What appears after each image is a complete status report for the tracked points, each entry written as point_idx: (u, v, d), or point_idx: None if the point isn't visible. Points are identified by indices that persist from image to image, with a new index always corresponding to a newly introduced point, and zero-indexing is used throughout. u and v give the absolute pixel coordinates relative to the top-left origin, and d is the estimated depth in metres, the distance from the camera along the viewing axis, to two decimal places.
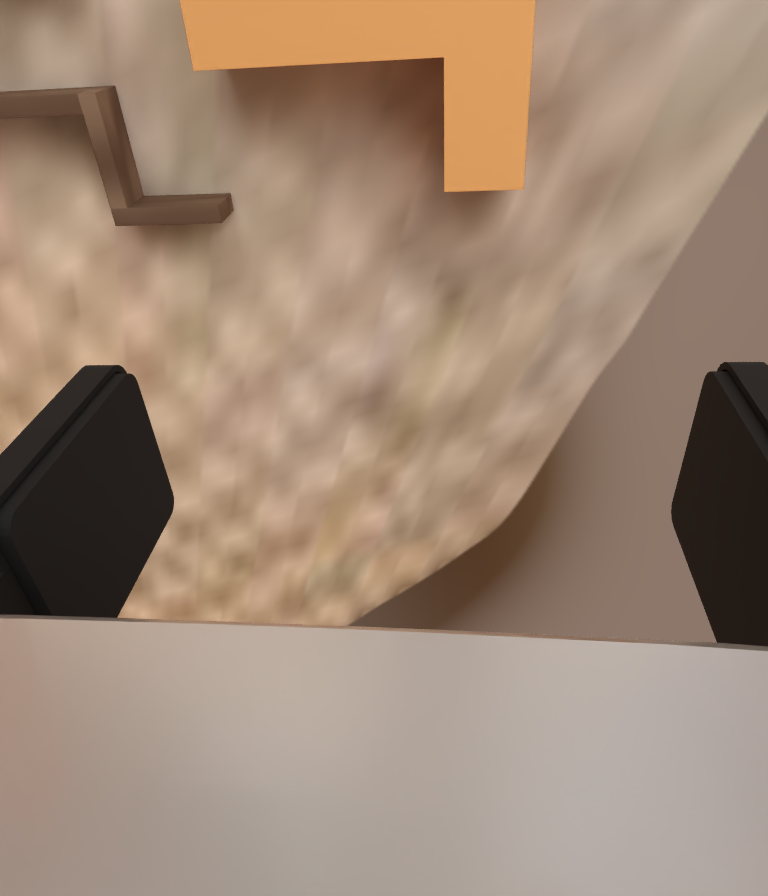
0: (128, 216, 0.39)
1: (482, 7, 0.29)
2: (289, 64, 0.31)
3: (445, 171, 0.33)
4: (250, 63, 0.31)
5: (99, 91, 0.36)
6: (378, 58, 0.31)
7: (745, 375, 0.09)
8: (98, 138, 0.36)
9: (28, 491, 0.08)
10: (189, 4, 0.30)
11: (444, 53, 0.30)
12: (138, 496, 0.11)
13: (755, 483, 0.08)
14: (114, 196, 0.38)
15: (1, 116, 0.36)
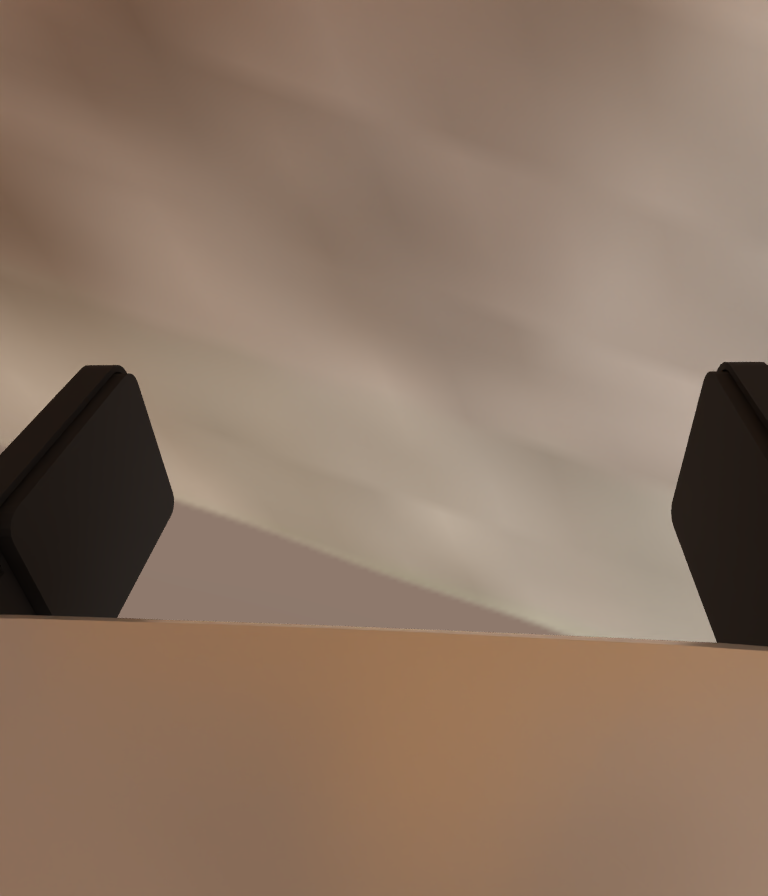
0: None
1: None
2: None
3: None
4: None
5: None
6: None
7: (745, 375, 0.09)
8: None
9: (28, 491, 0.08)
10: None
11: None
12: (138, 496, 0.11)
13: (755, 483, 0.08)
14: None
15: None
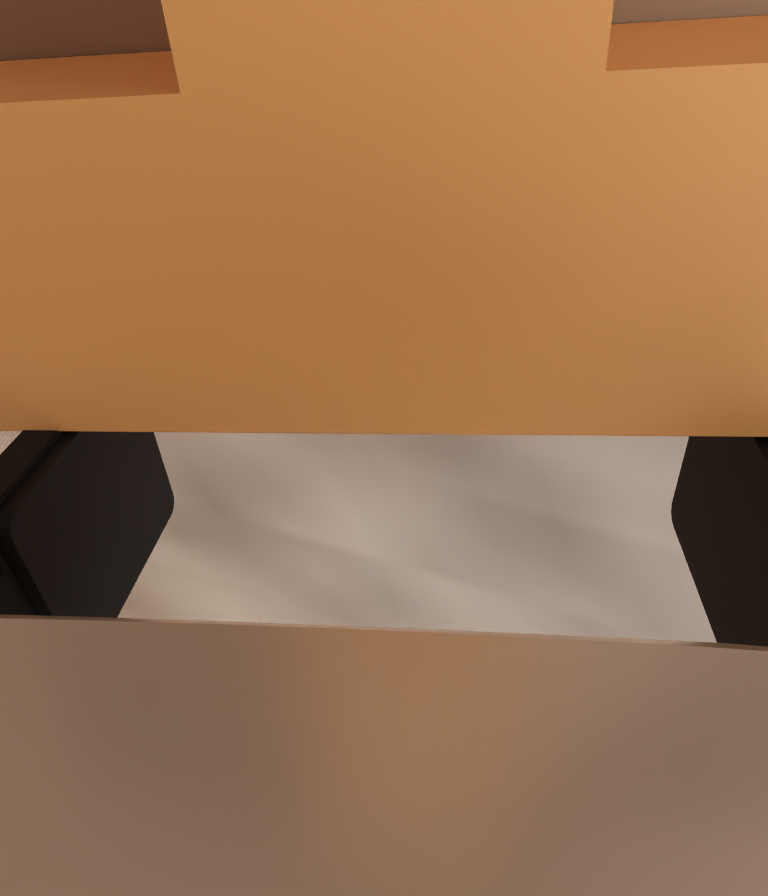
0: None
1: (377, 258, 0.07)
2: None
3: None
4: None
5: None
6: None
7: None
8: None
9: (28, 491, 0.08)
10: None
11: (195, 96, 0.06)
12: (138, 496, 0.11)
13: (755, 483, 0.08)
14: None
15: None
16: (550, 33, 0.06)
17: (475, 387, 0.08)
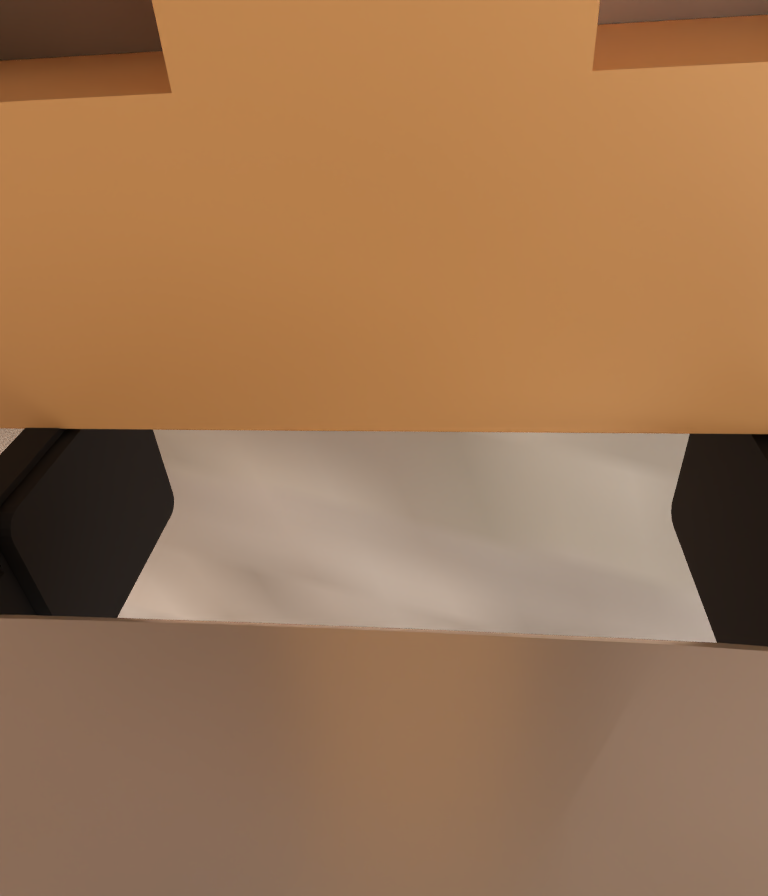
0: None
1: (368, 257, 0.07)
2: None
3: None
4: None
5: None
6: None
7: None
8: None
9: (28, 491, 0.08)
10: None
11: (186, 95, 0.06)
12: (138, 496, 0.11)
13: (755, 483, 0.08)
14: None
15: None
16: (537, 34, 0.06)
17: (466, 385, 0.08)
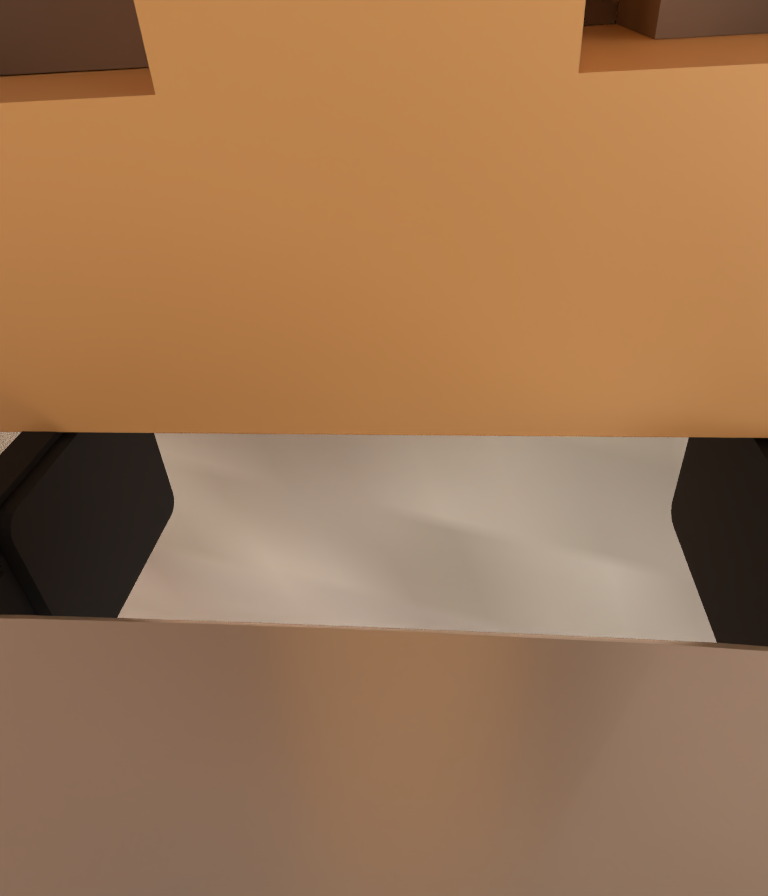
0: None
1: (354, 260, 0.07)
2: None
3: None
4: None
5: None
6: None
7: None
8: None
9: (28, 491, 0.08)
10: None
11: (170, 97, 0.06)
12: (138, 496, 0.11)
13: (755, 483, 0.08)
14: None
15: None
16: (522, 36, 0.06)
17: (455, 388, 0.08)
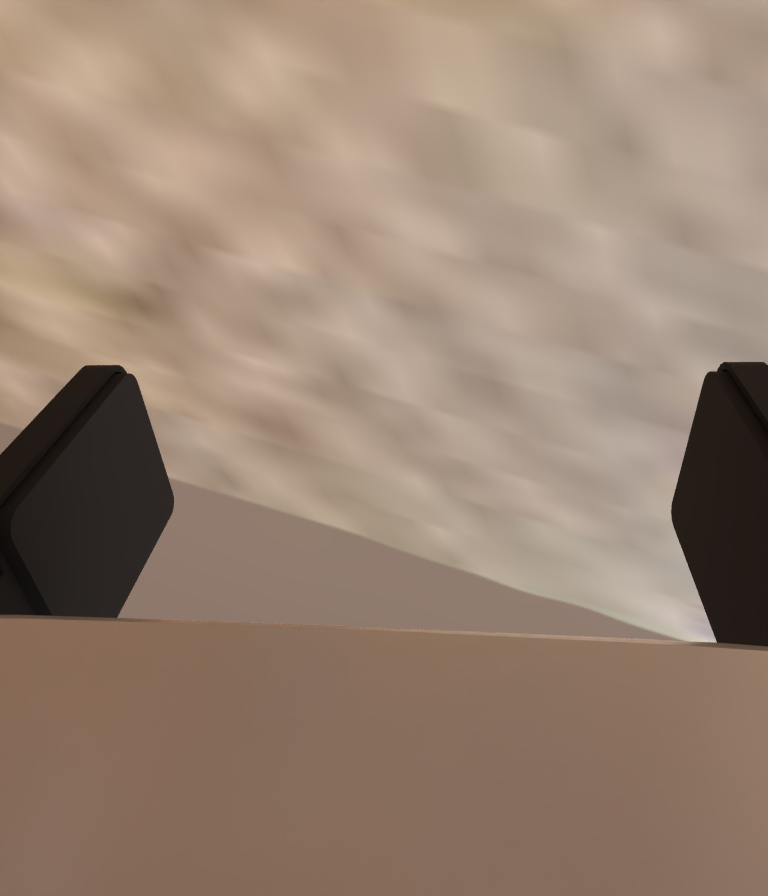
0: None
1: None
2: None
3: None
4: None
5: None
6: None
7: (745, 375, 0.09)
8: None
9: (28, 491, 0.08)
10: None
11: None
12: (138, 496, 0.11)
13: (755, 483, 0.08)
14: None
15: None
16: None
17: None
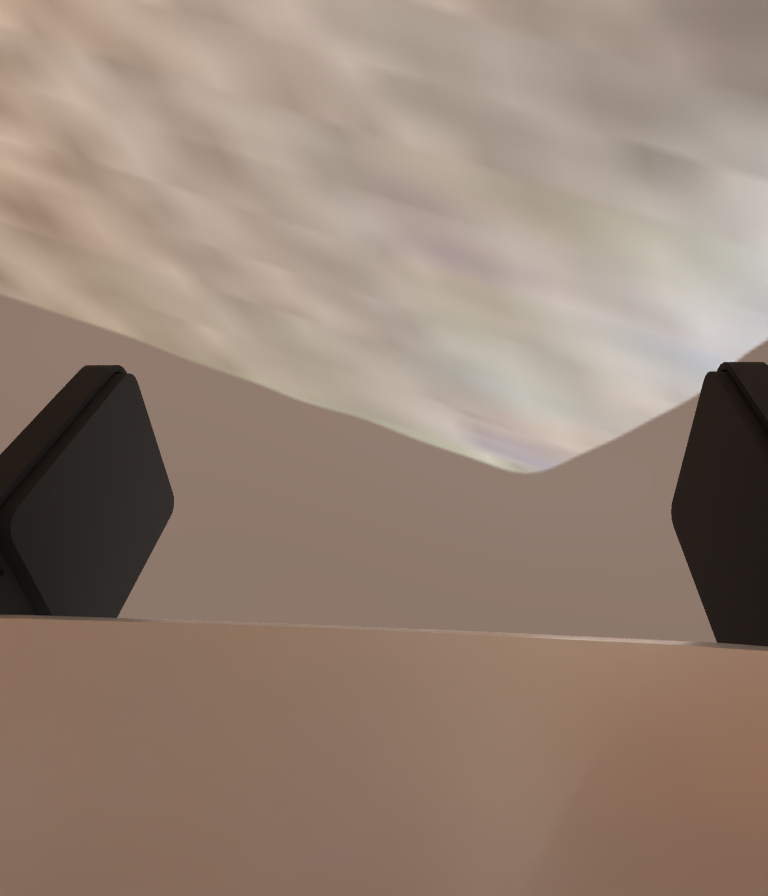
0: None
1: None
2: None
3: None
4: None
5: None
6: None
7: (745, 375, 0.09)
8: None
9: (28, 491, 0.08)
10: None
11: None
12: (138, 496, 0.11)
13: (755, 483, 0.08)
14: None
15: None
16: None
17: None
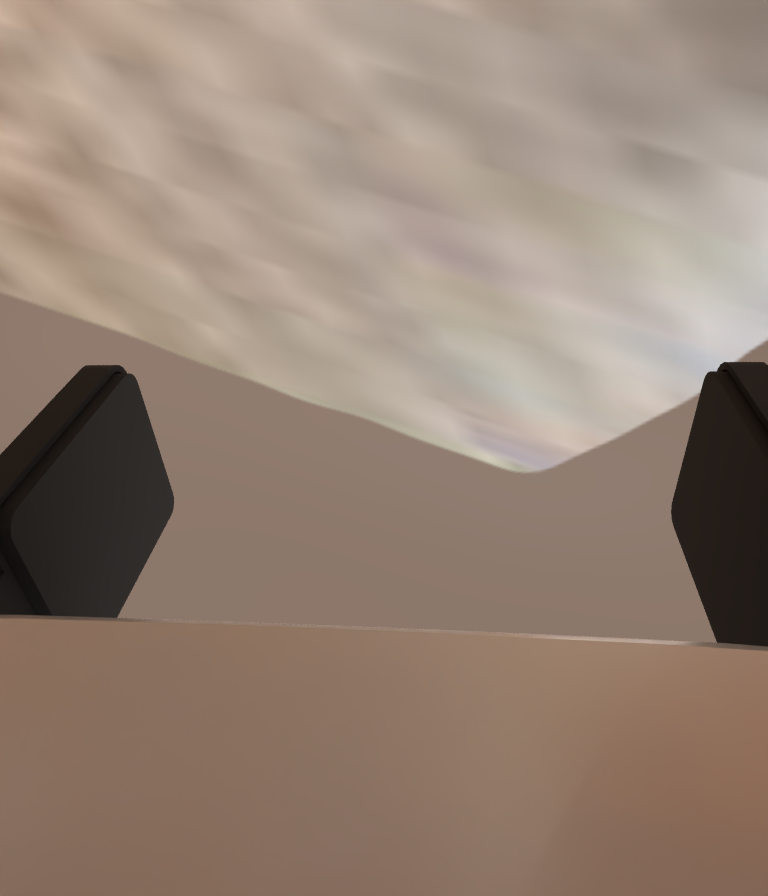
0: None
1: None
2: None
3: None
4: None
5: None
6: None
7: (745, 375, 0.09)
8: None
9: (28, 491, 0.08)
10: None
11: None
12: (138, 496, 0.11)
13: (755, 483, 0.08)
14: None
15: None
16: None
17: None
